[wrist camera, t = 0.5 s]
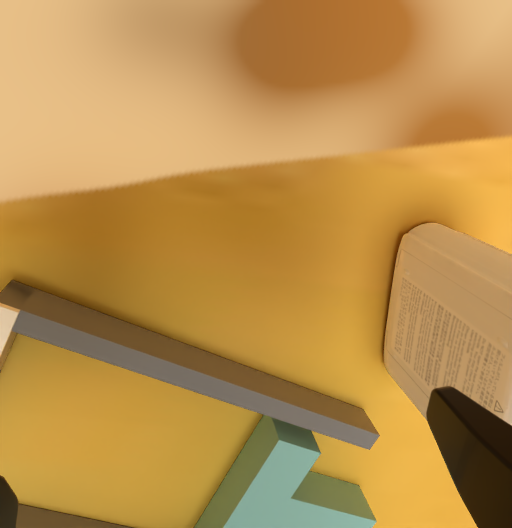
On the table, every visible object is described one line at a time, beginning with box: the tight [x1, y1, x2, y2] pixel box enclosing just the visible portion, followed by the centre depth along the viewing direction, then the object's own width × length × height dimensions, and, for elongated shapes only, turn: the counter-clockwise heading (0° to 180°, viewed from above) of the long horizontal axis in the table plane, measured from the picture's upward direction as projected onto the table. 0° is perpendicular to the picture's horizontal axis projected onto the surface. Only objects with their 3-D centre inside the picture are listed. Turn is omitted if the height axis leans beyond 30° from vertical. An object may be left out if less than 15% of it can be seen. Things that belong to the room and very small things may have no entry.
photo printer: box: [384, 223, 512, 425], centre depth 21 cm, size 10×4×12 cm, turn 179°
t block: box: [194, 415, 376, 528], centre depth 29 cm, size 11×10×3 cm
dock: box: [0, 280, 380, 528], centre depth 26 cm, size 15×23×3 cm
